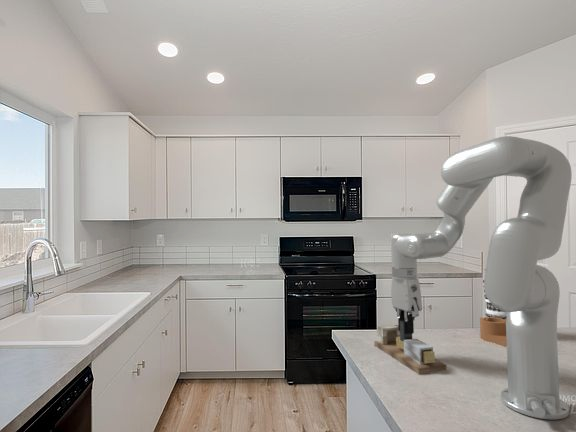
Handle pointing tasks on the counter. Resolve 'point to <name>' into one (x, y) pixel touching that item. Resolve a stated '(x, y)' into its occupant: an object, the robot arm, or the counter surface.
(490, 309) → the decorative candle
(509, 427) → the counter surface
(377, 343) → the sliding bolt latch
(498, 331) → the bracket
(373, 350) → the counter surface
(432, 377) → the counter surface
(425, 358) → the brass bolt with handle
